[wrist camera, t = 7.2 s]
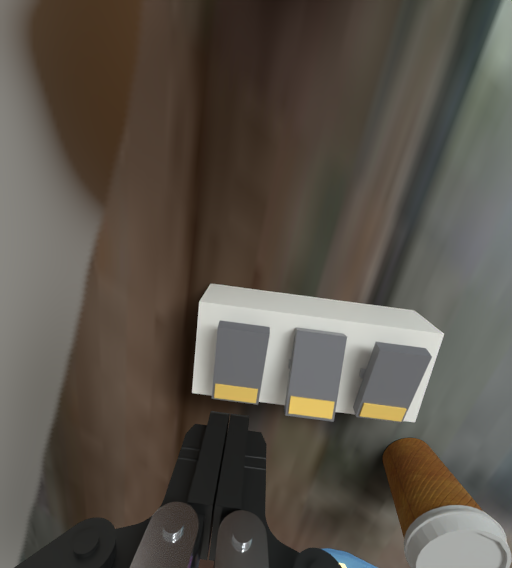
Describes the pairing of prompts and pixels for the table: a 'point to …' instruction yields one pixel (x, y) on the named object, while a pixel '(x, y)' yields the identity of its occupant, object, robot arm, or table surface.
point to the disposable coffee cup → (440, 513)
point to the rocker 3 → (391, 381)
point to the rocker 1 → (239, 361)
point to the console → (310, 315)
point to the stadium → (348, 559)
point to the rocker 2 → (315, 374)
